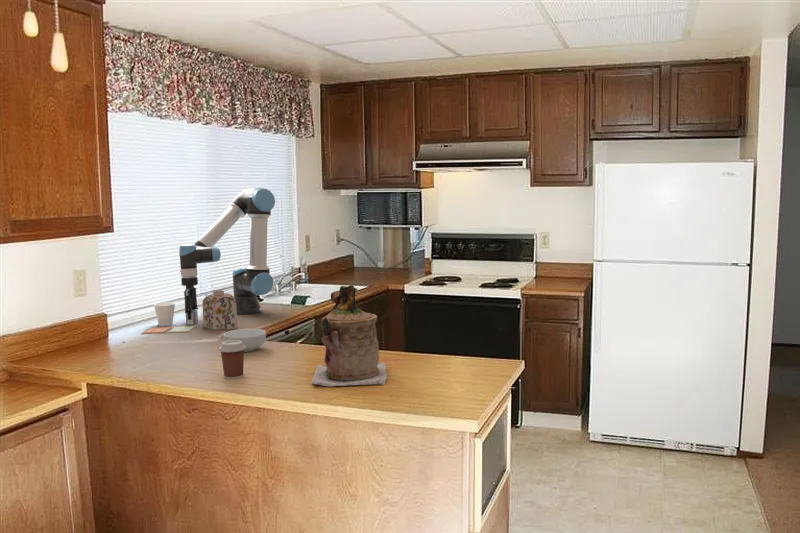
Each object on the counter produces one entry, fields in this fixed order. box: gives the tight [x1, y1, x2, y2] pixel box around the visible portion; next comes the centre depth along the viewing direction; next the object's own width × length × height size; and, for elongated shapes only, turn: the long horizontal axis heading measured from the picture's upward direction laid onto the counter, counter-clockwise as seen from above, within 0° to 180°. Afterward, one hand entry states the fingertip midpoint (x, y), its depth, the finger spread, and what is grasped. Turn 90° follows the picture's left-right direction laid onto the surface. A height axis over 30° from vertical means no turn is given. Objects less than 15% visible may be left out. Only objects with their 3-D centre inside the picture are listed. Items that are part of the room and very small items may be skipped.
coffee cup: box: [218, 340, 246, 380], centre depth 240 cm, size 9×9×12 cm
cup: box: [153, 301, 176, 327], centre depth 333 cm, size 10×10×11 cm
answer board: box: [140, 325, 198, 335], centre depth 319 cm, size 22×14×2 cm, turn 93°
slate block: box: [185, 309, 199, 325], centre depth 336 cm, size 4×4×7 cm
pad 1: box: [143, 326, 171, 334], centre depth 319 cm, size 9×11×1 cm
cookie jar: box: [311, 284, 388, 388], centre depth 235 cm, size 25×25×32 cm
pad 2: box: [167, 325, 195, 334], centre depth 320 cm, size 9×11×1 cm
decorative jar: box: [202, 289, 238, 332], centre depth 324 cm, size 12×12×18 cm
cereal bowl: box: [222, 327, 267, 353], centre depth 281 cm, size 17×17×7 cm
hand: (192, 324), depth 337 cm, fingers open, 6 cm apart
